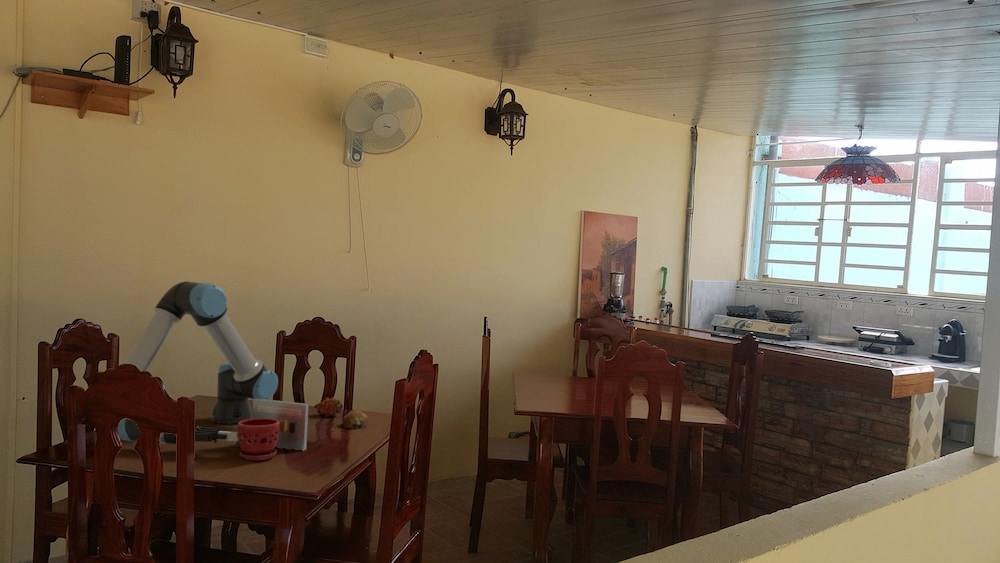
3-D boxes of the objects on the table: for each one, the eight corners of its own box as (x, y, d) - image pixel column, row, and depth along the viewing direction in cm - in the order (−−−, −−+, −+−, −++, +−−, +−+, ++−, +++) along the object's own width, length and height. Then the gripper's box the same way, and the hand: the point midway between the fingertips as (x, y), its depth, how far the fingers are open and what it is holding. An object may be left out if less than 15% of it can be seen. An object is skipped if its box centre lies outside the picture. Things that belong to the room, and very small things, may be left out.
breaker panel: (249, 445, 251) (251, 400, 250) (254, 443, 254) (256, 398, 253) (301, 451, 247) (304, 405, 246) (306, 449, 250) (308, 404, 249)
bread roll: (368, 434, 291) (372, 414, 294) (363, 428, 282) (366, 408, 285) (345, 432, 292) (348, 412, 295) (338, 426, 282) (342, 406, 286)
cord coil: (232, 446, 248) (233, 439, 248) (242, 442, 254) (242, 435, 254) (248, 448, 247) (248, 441, 246) (257, 444, 252) (258, 437, 252)
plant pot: (284, 453, 243) (286, 418, 243) (266, 464, 230) (268, 427, 230) (248, 450, 245) (250, 415, 244) (228, 460, 232) (230, 423, 231)
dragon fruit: (344, 420, 303) (315, 423, 302) (345, 405, 309) (317, 408, 309) (340, 407, 297) (311, 410, 297) (342, 392, 304) (313, 394, 303)
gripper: (177, 438, 244) (245, 443, 243) (157, 448, 231) (229, 453, 230) (178, 416, 244) (246, 421, 243) (158, 425, 231) (230, 430, 230)
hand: (237, 436), depth 237 cm, fingers closed
